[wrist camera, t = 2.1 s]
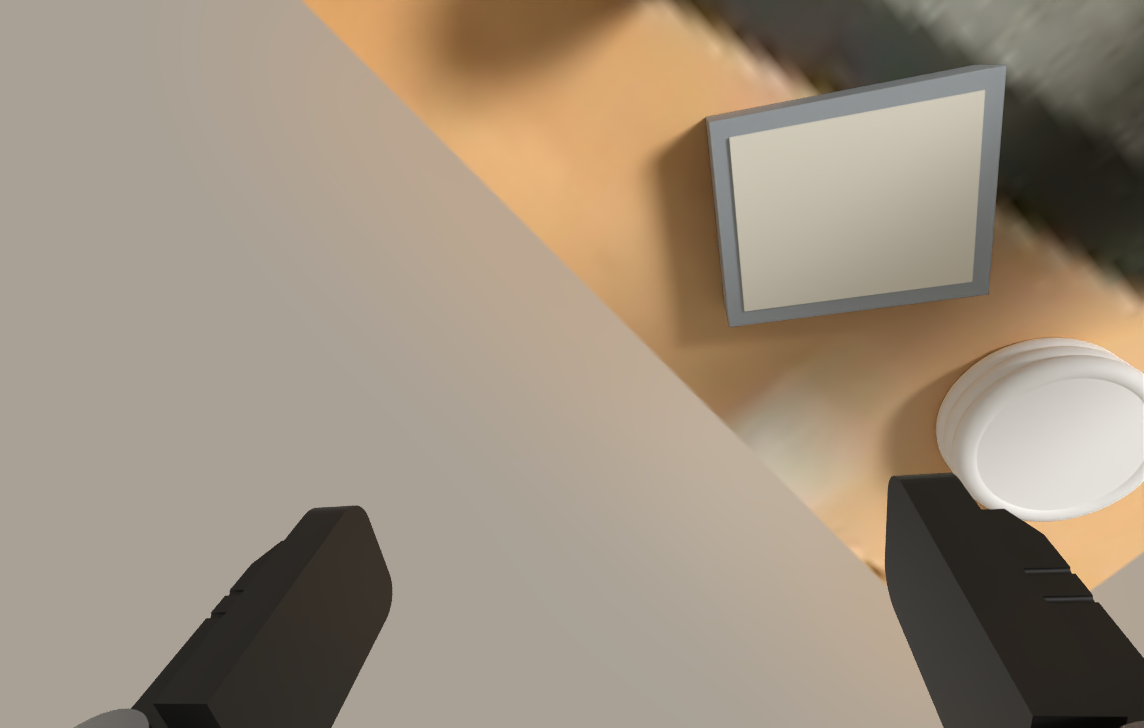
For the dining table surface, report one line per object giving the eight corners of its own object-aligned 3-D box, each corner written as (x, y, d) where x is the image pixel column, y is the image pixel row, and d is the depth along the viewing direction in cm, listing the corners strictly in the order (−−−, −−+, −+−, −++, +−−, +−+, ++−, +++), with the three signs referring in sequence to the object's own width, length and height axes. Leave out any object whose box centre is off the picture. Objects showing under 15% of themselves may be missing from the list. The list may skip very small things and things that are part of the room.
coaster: (894, 433, 37) (915, 467, 34) (1032, 299, 33) (1071, 324, 30) (1025, 514, 38) (1057, 555, 35) (1175, 395, 34) (1227, 429, 31)
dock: (974, 64, 28) (1008, 65, 26) (961, 275, 32) (989, 295, 30) (705, 117, 31) (709, 122, 28) (724, 306, 35) (729, 328, 32)
